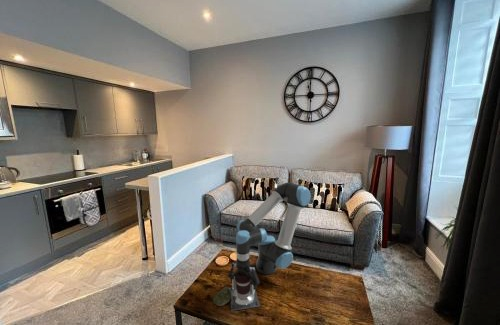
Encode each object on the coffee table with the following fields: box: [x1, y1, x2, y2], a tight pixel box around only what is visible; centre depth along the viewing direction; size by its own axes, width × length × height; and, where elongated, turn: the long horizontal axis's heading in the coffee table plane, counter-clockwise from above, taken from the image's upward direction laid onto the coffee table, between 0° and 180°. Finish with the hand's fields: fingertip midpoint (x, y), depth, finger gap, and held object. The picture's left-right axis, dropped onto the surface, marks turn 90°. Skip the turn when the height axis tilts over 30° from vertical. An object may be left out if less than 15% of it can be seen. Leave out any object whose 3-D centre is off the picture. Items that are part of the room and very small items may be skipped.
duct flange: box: [228, 284, 260, 312], centre depth 126 cm, size 16×16×2 cm
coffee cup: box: [234, 272, 252, 300], centre depth 125 cm, size 10×10×15 cm
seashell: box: [212, 286, 231, 307], centre depth 125 cm, size 10×7×10 cm
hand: (243, 290), depth 125 cm, fingers open, 12 cm apart
